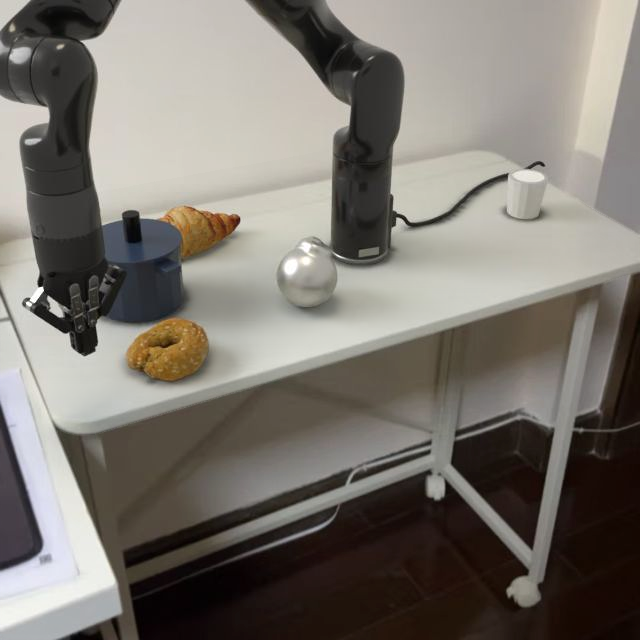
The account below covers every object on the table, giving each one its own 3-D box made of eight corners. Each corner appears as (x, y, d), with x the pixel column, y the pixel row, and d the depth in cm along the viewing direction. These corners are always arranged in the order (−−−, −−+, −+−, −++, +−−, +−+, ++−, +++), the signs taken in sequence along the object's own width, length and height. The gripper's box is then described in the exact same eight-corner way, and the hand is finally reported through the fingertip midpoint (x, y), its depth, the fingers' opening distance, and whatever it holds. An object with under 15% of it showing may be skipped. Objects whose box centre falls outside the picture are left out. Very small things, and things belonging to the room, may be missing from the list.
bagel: (131, 341, 119) (127, 312, 116) (212, 340, 119) (210, 310, 117) (121, 385, 110) (117, 354, 108) (208, 383, 111) (206, 352, 108)
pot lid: (143, 216, 131) (140, 185, 129) (202, 246, 124) (200, 213, 121) (66, 246, 123) (60, 213, 120) (123, 280, 115) (119, 245, 113)
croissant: (130, 288, 137) (134, 259, 131) (105, 239, 141) (108, 209, 135) (248, 252, 147) (256, 224, 140) (222, 208, 151) (229, 178, 144)
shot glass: (547, 210, 156) (554, 173, 152) (534, 224, 151) (540, 186, 147) (511, 201, 159) (517, 165, 155) (497, 214, 154) (502, 177, 150)
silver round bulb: (352, 304, 128) (354, 243, 123) (301, 325, 123) (301, 263, 117) (314, 279, 134) (314, 221, 128) (264, 299, 129) (262, 239, 123)
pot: (138, 264, 137) (132, 209, 132) (213, 306, 127) (209, 248, 122) (69, 293, 129) (59, 236, 124) (142, 340, 119) (135, 280, 114)
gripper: (97, 193, 101) (113, 319, 110) (-8, 228, 93) (19, 361, 102) (136, 213, 97) (149, 342, 106) (29, 252, 88) (54, 388, 98)
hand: (85, 351), depth 104 cm, fingers closed
